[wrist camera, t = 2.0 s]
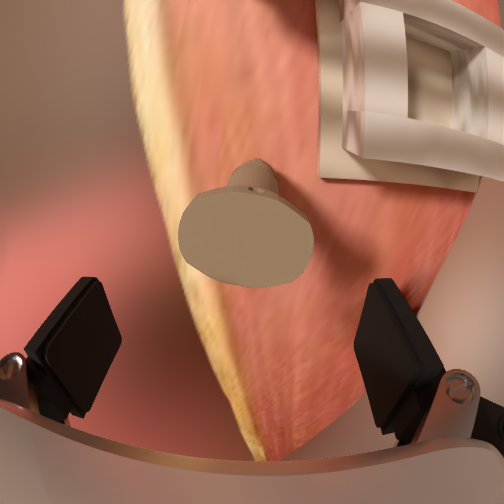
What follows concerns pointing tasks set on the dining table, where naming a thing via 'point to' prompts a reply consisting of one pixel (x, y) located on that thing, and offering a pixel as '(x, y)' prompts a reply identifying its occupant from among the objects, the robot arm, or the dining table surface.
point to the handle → (246, 231)
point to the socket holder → (409, 93)
